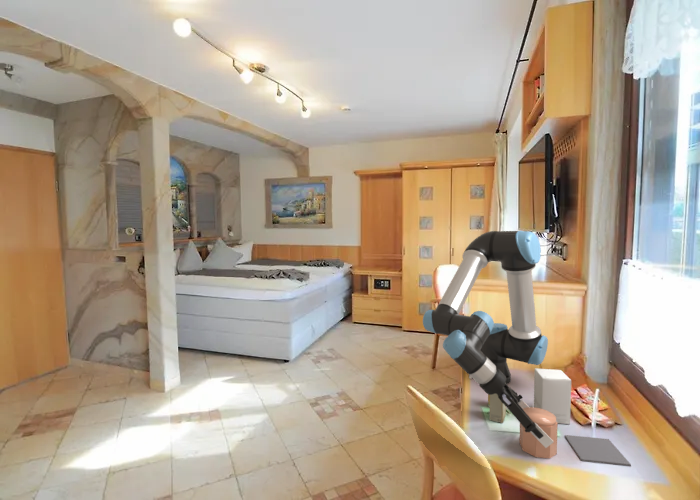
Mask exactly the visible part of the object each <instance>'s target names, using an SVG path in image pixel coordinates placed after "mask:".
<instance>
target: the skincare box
mask: <svg viewBox="0 0 700 500" xmlns="http://www.w3.org/2000/svg"><path fill="white" fill-rule="evenodd" d="M506 416H507V407H506V406H505V405H504V404H503V403H502V402H501V400H500V399H499V398H498V395H497V394H492V395H490V407H489V419H488V420H489V421H492V422H497V423H500V424H503V423H504V421H505V419H506Z"/></svg>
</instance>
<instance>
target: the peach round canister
mask: <svg viewBox="0 0 700 500" xmlns="http://www.w3.org/2000/svg"><path fill="white" fill-rule="evenodd" d="M523 410H524V411H525V413H526V414H527V415H528V416H529V417H530V419H531V420H532V421H533V422H534V423H536V424H537V425H538V426H539V427H540V428H541V429H542V430H543V431H544V432H545V433H546V434H547V435H548V436H549V437H550V438H551V439H552V440H553V443H552V444H551V445H550V446H548V447H547V448H545V447H544V446H543V445H542V444H541V443H540V442H539V441H538V440H537V439H536V438H535V437H534V436H533V435H532V433H531V432H525V428H524V427H523V426H522V424H521V423H520V422H519V445H520V448H521V449H522V451H523V452H525V453H527V454H528V455H531V456H533V457H534V458H540V459H548V460H549V459H552V458H553V457H554V456H556V455H558V424H559V423H557V421H556V417H555V415H554V414H552V413H551V412H549V411H547V410H544V409H540V408H535V407H534V406H532V407H531V406H529V407H527V408H524V409H523Z"/></svg>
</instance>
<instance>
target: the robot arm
mask: <svg viewBox="0 0 700 500" xmlns="http://www.w3.org/2000/svg"><path fill="white" fill-rule="evenodd" d="M541 251H542V250H541V243H540V240H539V238H538V236H537V234H535V233H534V232H532V231H528V230H527V231H525V230H524V231H523V230H509V231H508V230H505V231H504V230H500V231H499V230H498V231H497V230H491V231H487V232H485V233H482V234H480V235H478V236H477V237H476V238H475V239H473V240H472V241H471V242H470V243H469V245H468V246H467V247H466V248H465V250H464V252H463V253H462V260H461V262H460V265H459V266H458V268H457V270H456V271H455V274H454V275H453V276H452V279H451V281H450V283H449V284H448V286H447V288H446V290H445V292H444V294H443V296H442V297H441V299H440V301H439V303H438V305H437V306H436V308H435V309H427V310H426V311H425V313H424V314H423V318H422V326H423V328H424V329H425V330H426V331H428V332H430V333H432V334H433V333H434V334H437V335H438V334H439V335H443V336H447V337H445V339H444V340H443V343H442V348H443V349H444V351H445V352H446V353H447V354H448V356H449V357H450V358H451V359H453V361H455V363H456V364H458V366H459V367H460V368H461V369H463V370H464V372H465V373H466V374H468V375H469V376H468V378H469V380H471V379H473V380H474V382H475V383H477V384H478V385H479V387H480V388H481V389H482V390H483V392H485V394H487V395H488V394H489V395H492V394H497V395H498V398H499V399H500V400H501V402H502V403H503V404H504V405H505V406H506V409H507V410H509V411H510V413H511V414H512V415H513V417H515V418H516V420H517V421H518V423H519V424H520V423H521V424H522V426H523V427H524V428H525V432H531V433H532V435H533V436H534V437H535V438H536V439H537V440H538V441H539V442H540V443H541V444H542V445H543V446H544V447H545V448H547V447H548V446H550V445H551V444H552V443H553V440H552V439H551V438H550V437H549V436H548V435H547V434H546V433H545V432H544V431H543V430H542V429H541V428H540V427H539V426H538V425H537V424H536V423H534V422H533V421H532V420H531V419H530V417H529V416H528V415H527V414H526V413H525V411H524V410H523V409H524V408H527V407H530V406H529V405H528V404H527V403H525V401H524V400H523V395H521V394H518V392H517V391H515V390H514V389H513V388H511V387H510V386H509V385H508V384H510V383H511V381H512V375H511V372H510V369H509V366H508V363H507V359H509V360H514V361H517V362H522V363H525V364H526V363H527V365H535V366H540V365H541V364H542V363H543V362H544V360H545V358H546V354H547V351H548V345H549V340H548V337H547V336H546V335H545V334H544V335H542V329H541V328H540V327H539V326H537V322H536V321H537V317H536V309H535V308H536V307H535V298H534V285H533V275H532V270H534V269H535V268H536V264H538V263H539V262H540V260H541V256H542V255H541ZM490 262H500V265H501V266H500V267H501V269H502V270H503V271H504V272H506V279H507V290H508V298H509V309H510V310H509V311H510V318H511V326H510V327H509V328H508V325H507V324H505V323H501V322H498V323H495V322H494V319H493V317H492V316H491V315H490V314H489V313H487V312H486V311H482V310H476V311H474V312H472V313H471V314H470V315H469V316H468V315H464V314H460V312H461V311H462V309H463V306H464V304H465V302H466V300H467V298H468V296H469V295H470V293H471V291H472V289H473V287H474V285H475V283H476V281H477V279H478V277H479V275H480V273H481V271H482V269H484V268H486V267H487V266H488V264H489V263H490Z"/></svg>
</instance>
